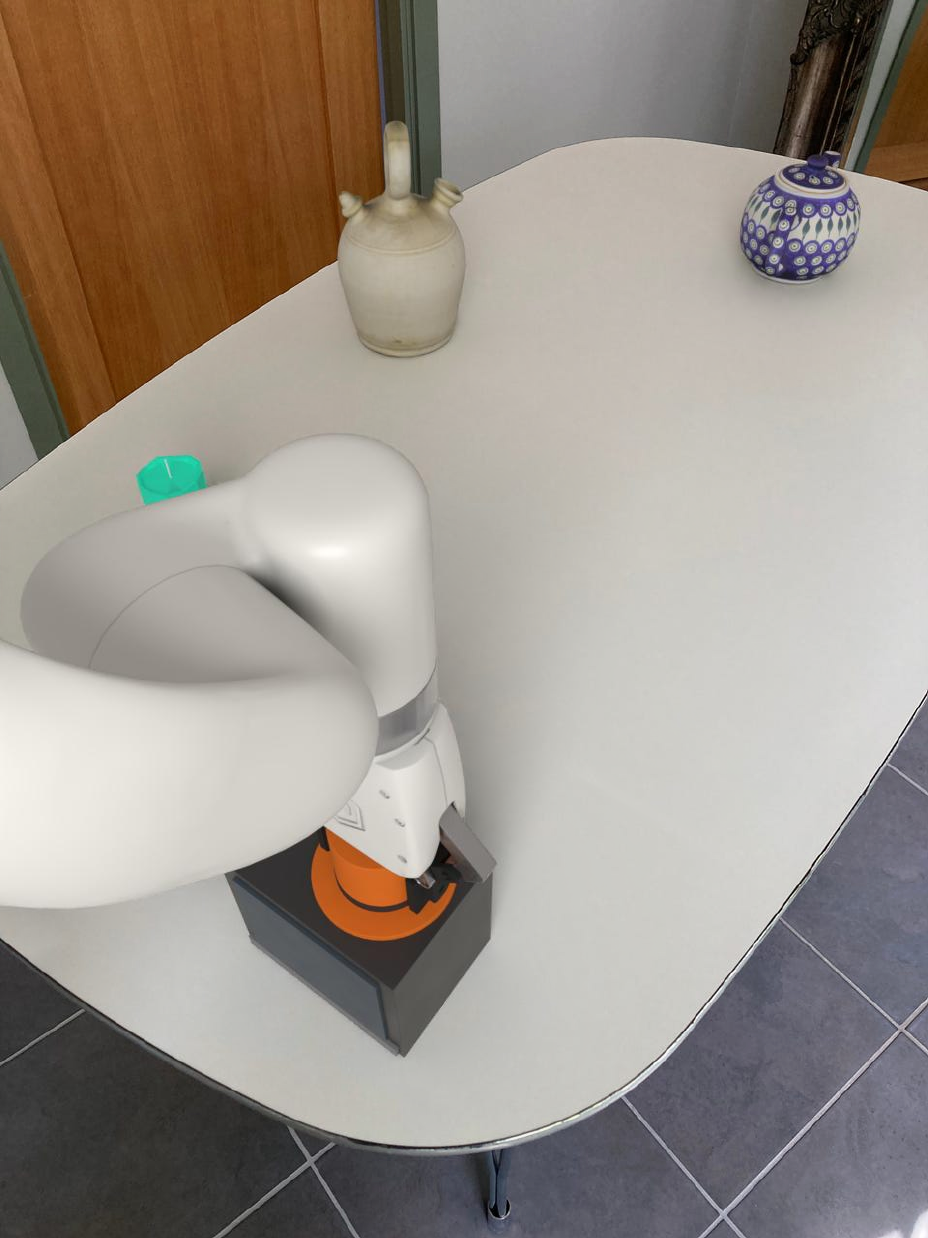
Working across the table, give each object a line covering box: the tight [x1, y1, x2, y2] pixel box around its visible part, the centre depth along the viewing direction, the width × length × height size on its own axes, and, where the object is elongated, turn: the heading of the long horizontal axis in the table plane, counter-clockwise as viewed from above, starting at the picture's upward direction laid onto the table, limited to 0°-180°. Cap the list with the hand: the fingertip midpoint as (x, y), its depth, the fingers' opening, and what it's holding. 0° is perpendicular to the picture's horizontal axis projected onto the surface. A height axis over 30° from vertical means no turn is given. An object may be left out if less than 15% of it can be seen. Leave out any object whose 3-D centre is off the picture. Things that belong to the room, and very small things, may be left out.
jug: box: [337, 120, 467, 358], centre depth 112 cm, size 15×16×25 cm
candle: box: [135, 454, 208, 505], centre depth 90 cm, size 6×6×12 cm
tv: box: [224, 830, 494, 1058], centre depth 64 cm, size 10×14×12 cm
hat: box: [311, 828, 457, 941], centre depth 57 cm, size 9×9×6 cm
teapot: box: [739, 150, 862, 285], centre depth 126 cm, size 25×15×15 cm, turn 148°
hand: (384, 861), depth 58 cm, fingers closed on hat, 6 cm apart
